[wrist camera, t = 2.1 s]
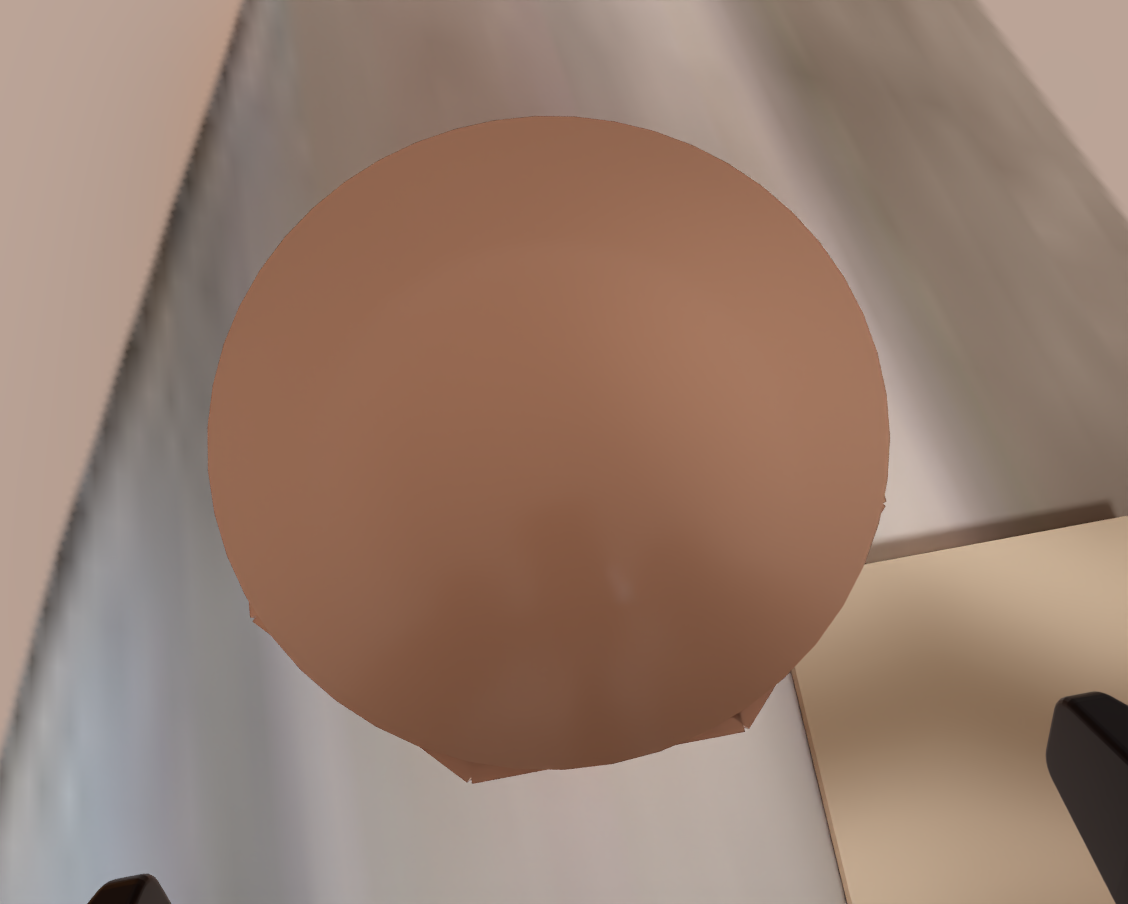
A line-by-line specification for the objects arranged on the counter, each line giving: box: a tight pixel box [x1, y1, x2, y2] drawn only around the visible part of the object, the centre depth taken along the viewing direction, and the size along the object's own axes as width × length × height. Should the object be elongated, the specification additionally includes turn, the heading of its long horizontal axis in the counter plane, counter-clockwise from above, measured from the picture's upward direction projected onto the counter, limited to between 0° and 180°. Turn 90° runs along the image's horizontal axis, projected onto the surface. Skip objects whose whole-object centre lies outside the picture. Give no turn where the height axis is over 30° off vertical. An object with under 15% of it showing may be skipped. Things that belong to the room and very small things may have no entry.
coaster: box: [791, 516, 1128, 904], centre depth 19 cm, size 8×8×1 cm
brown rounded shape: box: [208, 116, 890, 784], centre depth 14 cm, size 6×6×12 cm
